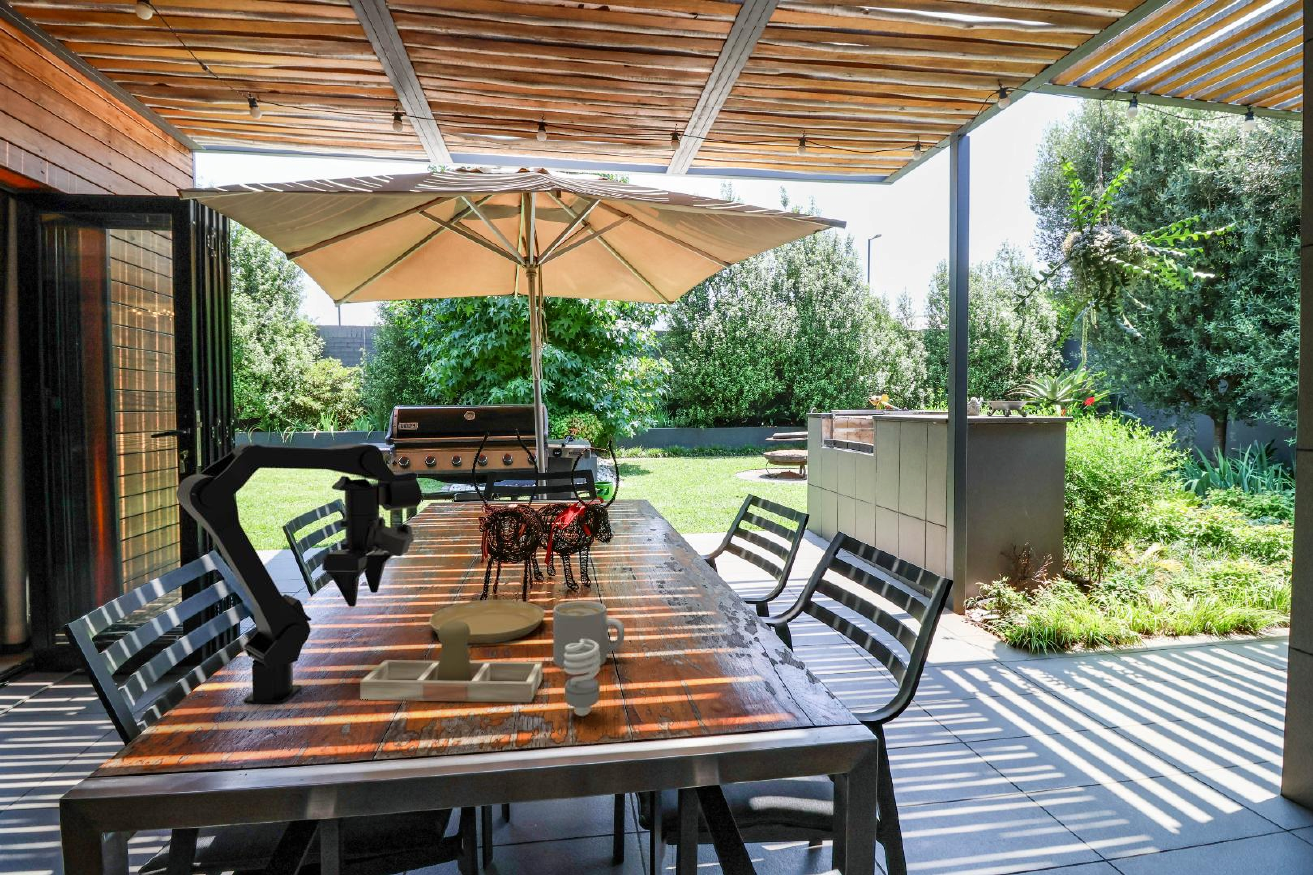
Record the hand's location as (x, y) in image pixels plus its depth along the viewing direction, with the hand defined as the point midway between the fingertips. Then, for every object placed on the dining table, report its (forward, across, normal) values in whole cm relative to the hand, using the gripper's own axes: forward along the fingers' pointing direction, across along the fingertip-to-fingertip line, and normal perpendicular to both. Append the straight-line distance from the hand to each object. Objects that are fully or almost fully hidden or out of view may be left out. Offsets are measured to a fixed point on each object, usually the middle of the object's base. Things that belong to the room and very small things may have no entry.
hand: (363, 599), depth 130 cm
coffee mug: (+13, +6, -40) cm, 43 cm away
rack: (+13, -8, -19) cm, 24 cm away
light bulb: (+13, -18, -42) cm, 48 cm away
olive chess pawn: (+13, -8, -19) cm, 24 cm away
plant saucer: (+14, +25, -16) cm, 33 cm away
